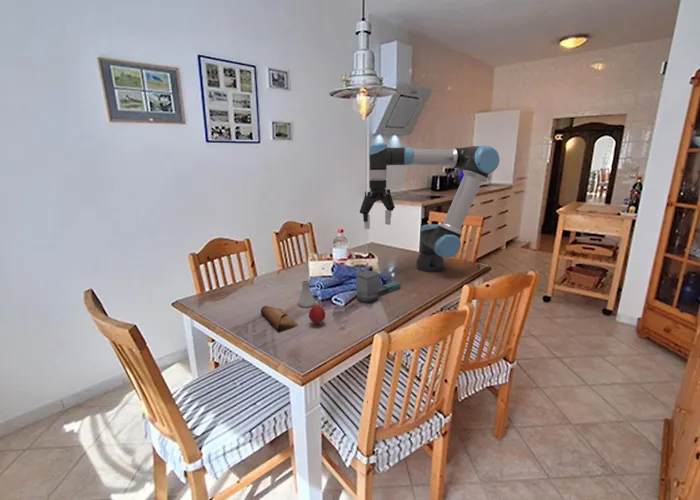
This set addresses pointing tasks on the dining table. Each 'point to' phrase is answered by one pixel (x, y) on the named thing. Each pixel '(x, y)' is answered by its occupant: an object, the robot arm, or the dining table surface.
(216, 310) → the dining table surface
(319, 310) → the onion
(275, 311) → the sunglasses case
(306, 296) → the flask
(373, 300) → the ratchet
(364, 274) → the rounded charcoal cube
